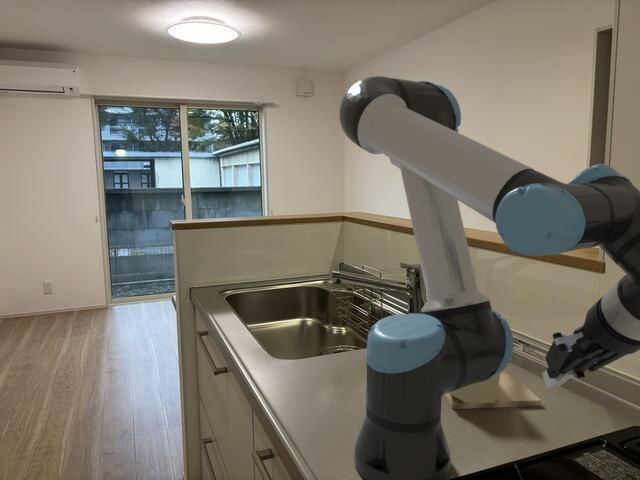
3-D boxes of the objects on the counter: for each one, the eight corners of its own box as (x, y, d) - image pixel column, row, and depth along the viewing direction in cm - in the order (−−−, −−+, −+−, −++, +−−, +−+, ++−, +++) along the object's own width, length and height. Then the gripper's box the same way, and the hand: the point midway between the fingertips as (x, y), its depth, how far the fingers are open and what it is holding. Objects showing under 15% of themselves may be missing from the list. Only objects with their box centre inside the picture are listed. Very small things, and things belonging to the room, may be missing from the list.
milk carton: (502, 364, 91) (482, 333, 111) (454, 355, 92) (442, 326, 112) (493, 408, 92) (474, 370, 112) (445, 399, 94) (435, 362, 113)
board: (451, 408, 93) (452, 403, 93) (428, 374, 109) (428, 369, 109) (540, 406, 94) (540, 400, 94) (504, 372, 110) (504, 367, 110)
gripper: (591, 344, 58) (518, 404, 77) (691, 342, 59) (594, 402, 78) (569, 292, 63) (505, 361, 82) (662, 290, 64) (577, 359, 83)
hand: (549, 381), depth 80 cm, fingers closed
